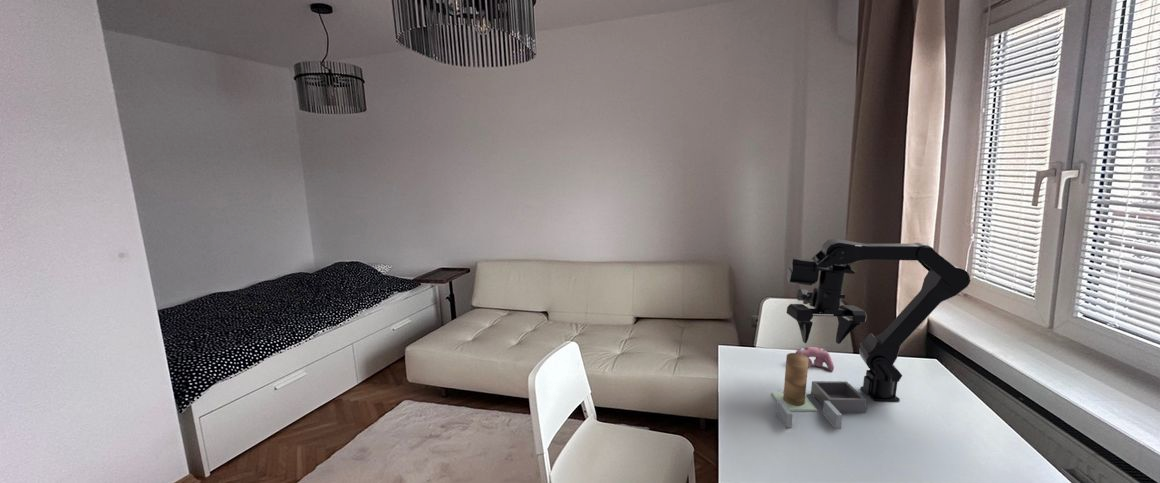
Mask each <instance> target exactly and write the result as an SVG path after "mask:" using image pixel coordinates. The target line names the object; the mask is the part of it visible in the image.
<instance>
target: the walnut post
mask: <svg viewBox="0 0 1160 483" xmlns="http://www.w3.org/2000/svg"><path fill="white" fill-rule="evenodd" d="M809 359H810V358H809ZM809 359H808V357H806V356H805V355H802V354H798V353H796V352H790V353H787V354H786V361H785V373H784V384H783V385H784V386H783V392H784V395H783V399H784V401H785V402H786V403H788V404H790V405H794V406H802V405H804V404H805V396H806V392H807V384H808V382H807V381H808V371H809V366H808V362H809Z"/></svg>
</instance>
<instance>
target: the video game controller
mask: <svg viewBox="0 0 1160 483" xmlns="http://www.w3.org/2000/svg"><path fill="white" fill-rule="evenodd" d="M795 353H798V354H802V355H805V356H806V357H808V359H809V362H808V367H811V366H812V364H814V366H815V367H818V368H820V367H823V365H824V363H825V365H826V367H827V368H828V370H829V371H831V372H833V371H834V370H835V366H834V362H833V360H832V357H831V355H830V353H829V352H828V351H827V350H826V349H824V348H820V347H816V346H807V347H801V348H799V349H797V350H796V351H795ZM811 358H814V360H813V361H812V359H811Z"/></svg>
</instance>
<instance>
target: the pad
mask: <svg viewBox="0 0 1160 483" xmlns="http://www.w3.org/2000/svg"><path fill="white" fill-rule="evenodd" d="M771 395H772V396H773V398H774V399H775V401H776V402H777V400H783V402H784V403H785V404H786V406H787V407H788V409H789V410H790V411H791V412H817V411H818V409H817V408H816V406H815V405H814V404H813V403H812V402H811V401H810V399H809V398H808V397H807V396H806V395H805V404H804V405H802V406H794V405H790V404H788V403H786V402H785V401H784V399H783V395H784V391H771Z"/></svg>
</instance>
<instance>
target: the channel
mask: <svg viewBox="0 0 1160 483" xmlns="http://www.w3.org/2000/svg"><path fill="white" fill-rule="evenodd" d="M822 408H823V409H822V415H823V416H824V417H825V418H826V419H827V420H828V421H829V423H831V425H832V426H833V427H834V428H835V429H839V430H840V429H842V420H843V414H842V413H840V412H839V411H838V410H837V409H836V408H835V407H834V406H833V405H832V403H831V402H830V401H824V406H822ZM776 414H777V416H778V417H779V419H780V420H781V422H782V424H783V426H784V427H785V428H786V429H789V428H790V429H792V427H793V415H794V414H793V412H792V411H790V410H789V409H788V407H787V406H786V404H785V403H784V402H783V400H777V401H776Z"/></svg>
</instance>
